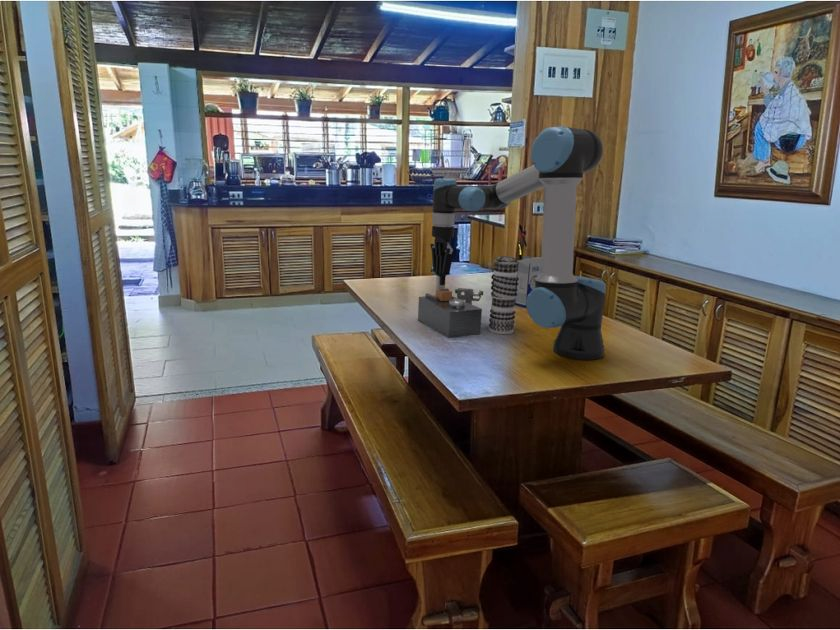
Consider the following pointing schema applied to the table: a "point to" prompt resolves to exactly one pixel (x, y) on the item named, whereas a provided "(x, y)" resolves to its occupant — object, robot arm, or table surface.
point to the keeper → (444, 294)
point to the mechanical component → (468, 295)
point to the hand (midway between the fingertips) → (440, 293)
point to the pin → (456, 303)
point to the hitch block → (449, 317)
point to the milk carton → (526, 278)
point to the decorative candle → (503, 295)
